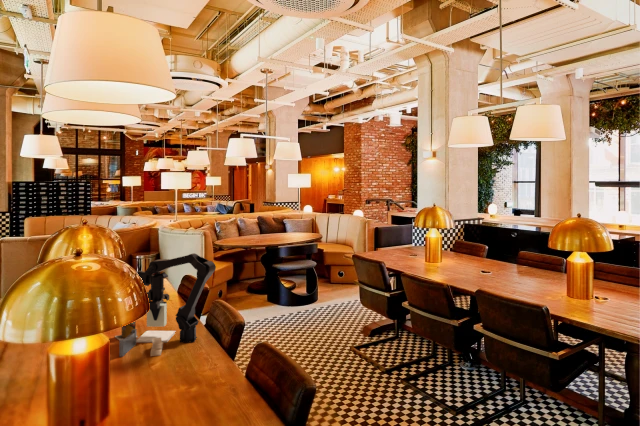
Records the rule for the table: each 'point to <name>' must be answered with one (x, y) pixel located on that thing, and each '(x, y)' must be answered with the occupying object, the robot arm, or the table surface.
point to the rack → (127, 343)
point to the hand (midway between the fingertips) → (156, 319)
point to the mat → (156, 336)
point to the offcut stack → (156, 347)
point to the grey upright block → (161, 318)
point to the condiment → (127, 330)
